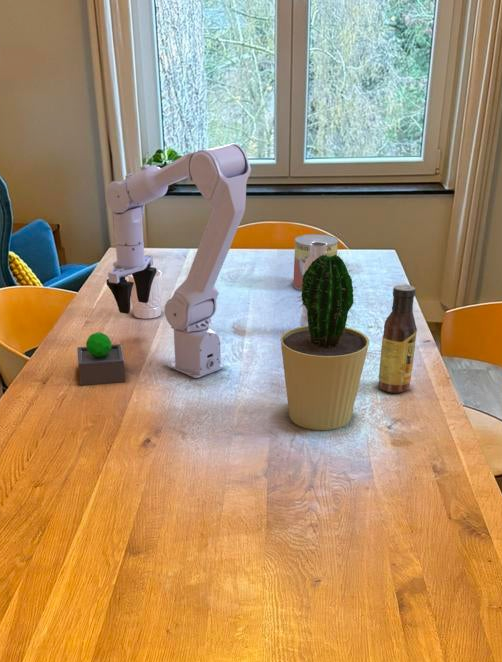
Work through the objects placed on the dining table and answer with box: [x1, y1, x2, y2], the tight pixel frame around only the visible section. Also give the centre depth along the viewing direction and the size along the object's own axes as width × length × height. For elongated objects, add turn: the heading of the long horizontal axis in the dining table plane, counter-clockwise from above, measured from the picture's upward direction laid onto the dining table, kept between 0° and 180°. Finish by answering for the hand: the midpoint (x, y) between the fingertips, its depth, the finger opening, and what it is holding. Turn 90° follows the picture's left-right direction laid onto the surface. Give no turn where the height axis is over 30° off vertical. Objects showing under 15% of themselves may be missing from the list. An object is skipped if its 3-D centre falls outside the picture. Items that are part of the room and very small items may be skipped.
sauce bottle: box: [378, 284, 418, 394], centre depth 151 cm, size 6×6×20 cm
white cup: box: [127, 269, 163, 320], centre depth 191 cm, size 8×8×10 cm
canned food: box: [292, 233, 340, 291], centre depth 209 cm, size 11×11×12 cm
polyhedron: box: [85, 331, 113, 358], centre depth 160 cm, size 5×5×5 cm
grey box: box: [76, 343, 127, 386], centre depth 162 cm, size 9×9×5 cm
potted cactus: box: [280, 251, 370, 431], centre depth 138 cm, size 15×15×30 cm
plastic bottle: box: [299, 242, 327, 327], centre depth 177 cm, size 6×7×20 cm
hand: (134, 307), depth 170 cm, fingers open, 7 cm apart
